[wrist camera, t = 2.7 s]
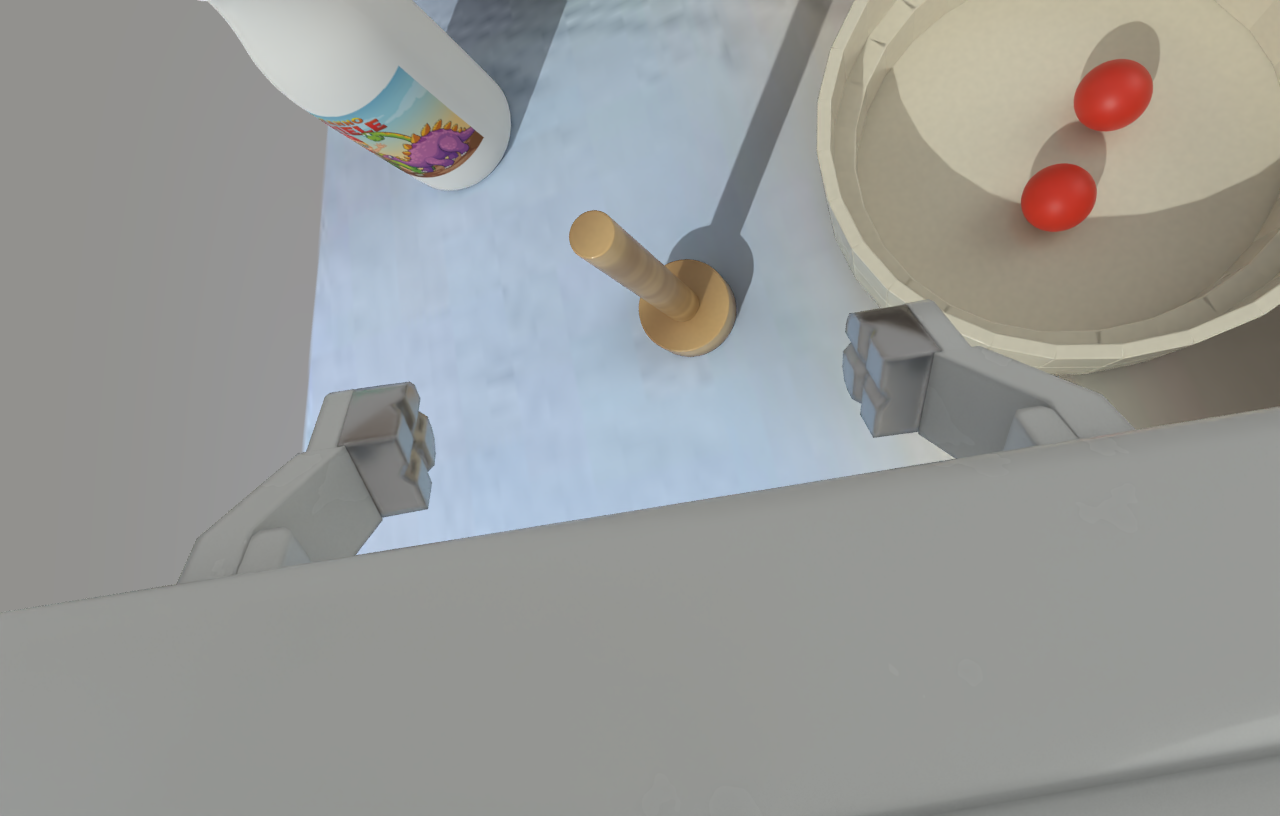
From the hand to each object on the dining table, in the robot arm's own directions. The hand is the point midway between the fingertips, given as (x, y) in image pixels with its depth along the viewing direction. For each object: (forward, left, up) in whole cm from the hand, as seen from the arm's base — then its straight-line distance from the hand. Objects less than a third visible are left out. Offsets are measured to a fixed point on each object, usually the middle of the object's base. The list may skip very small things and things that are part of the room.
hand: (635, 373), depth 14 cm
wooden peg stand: (+8, -3, -26) cm, 27 cm away
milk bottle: (+27, -7, -26) cm, 38 cm away
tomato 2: (-6, -20, -24) cm, 32 cm away
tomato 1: (-6, -15, -24) cm, 29 cm away
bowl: (-5, -17, -26) cm, 32 cm away
